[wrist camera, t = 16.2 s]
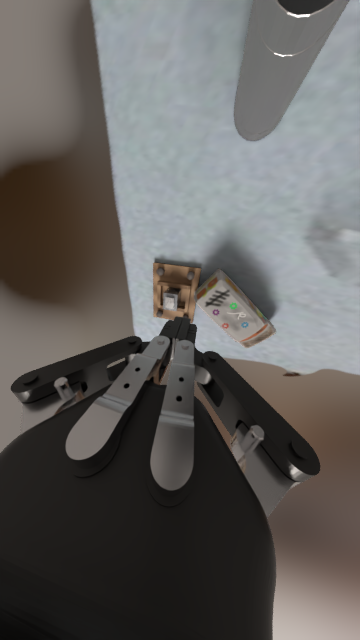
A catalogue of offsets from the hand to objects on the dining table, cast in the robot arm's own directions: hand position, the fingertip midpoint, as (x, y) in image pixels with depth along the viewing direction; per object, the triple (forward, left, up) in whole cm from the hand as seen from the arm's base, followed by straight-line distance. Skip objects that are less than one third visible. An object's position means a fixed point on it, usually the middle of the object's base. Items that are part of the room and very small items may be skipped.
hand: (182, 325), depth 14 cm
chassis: (+8, -7, -31) cm, 33 cm away
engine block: (+8, -7, -30) cm, 32 cm away
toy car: (+9, +12, -31) cm, 35 cm away
